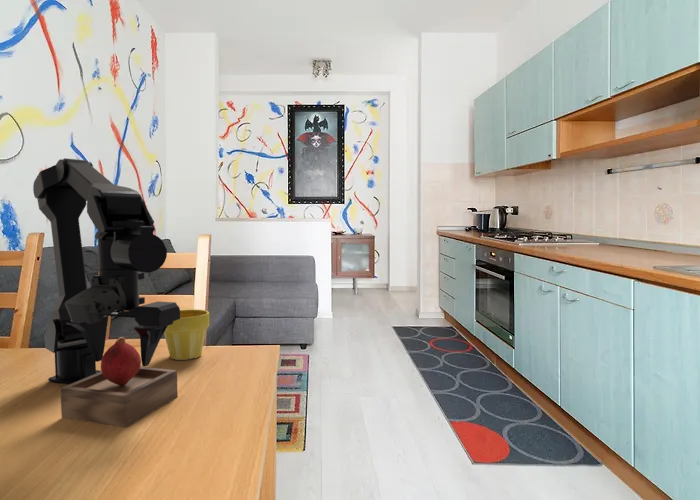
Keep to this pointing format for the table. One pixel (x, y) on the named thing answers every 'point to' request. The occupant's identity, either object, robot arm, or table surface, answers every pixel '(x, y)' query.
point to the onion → (120, 362)
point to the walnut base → (118, 397)
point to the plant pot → (187, 334)
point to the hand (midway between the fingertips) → (121, 363)
